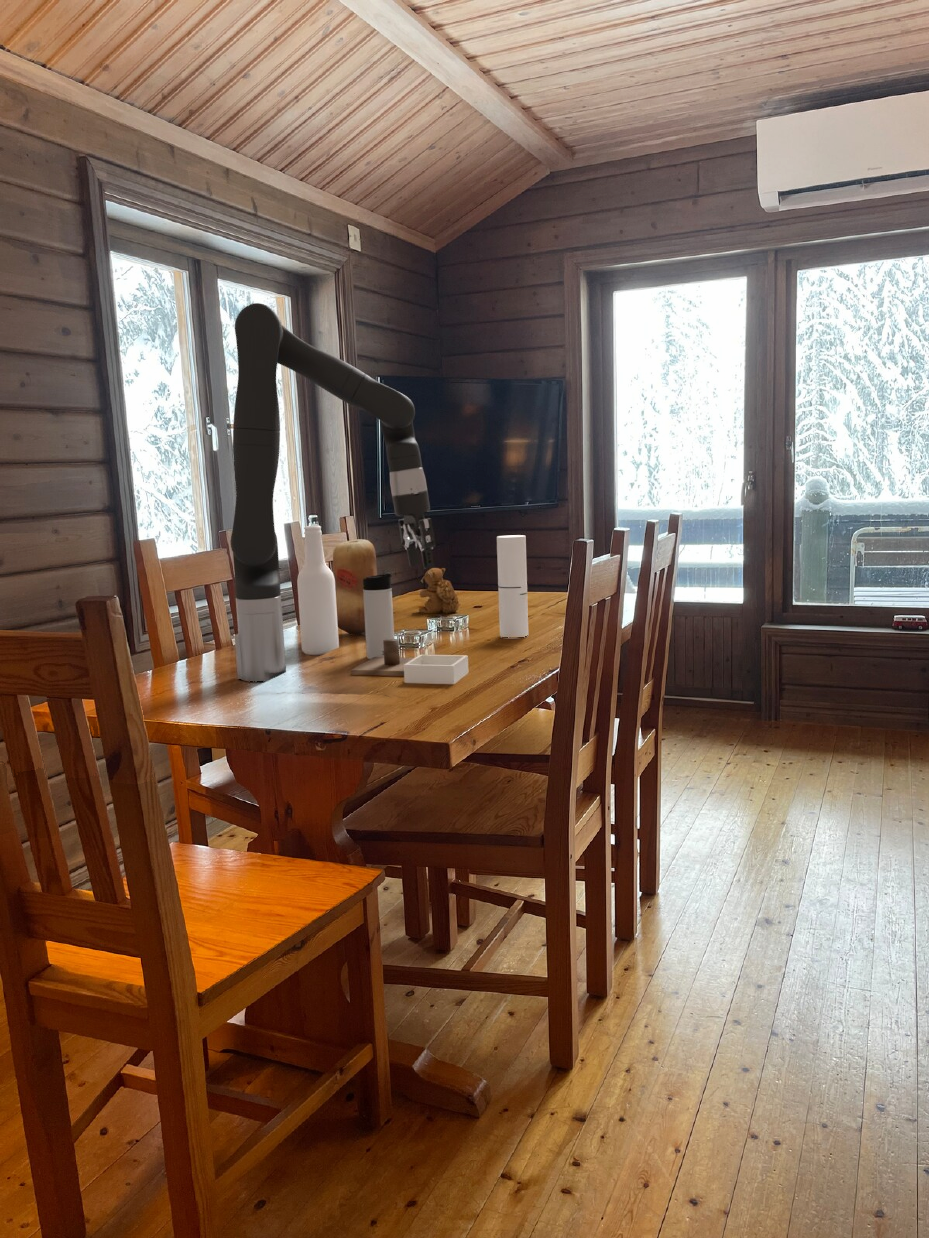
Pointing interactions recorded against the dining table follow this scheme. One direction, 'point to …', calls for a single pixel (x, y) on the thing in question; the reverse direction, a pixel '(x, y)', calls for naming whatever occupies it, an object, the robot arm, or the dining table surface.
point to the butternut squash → (352, 582)
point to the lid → (384, 662)
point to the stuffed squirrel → (438, 593)
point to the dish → (436, 669)
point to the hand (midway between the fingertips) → (421, 567)
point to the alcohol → (317, 598)
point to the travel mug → (378, 613)
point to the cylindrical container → (512, 585)
